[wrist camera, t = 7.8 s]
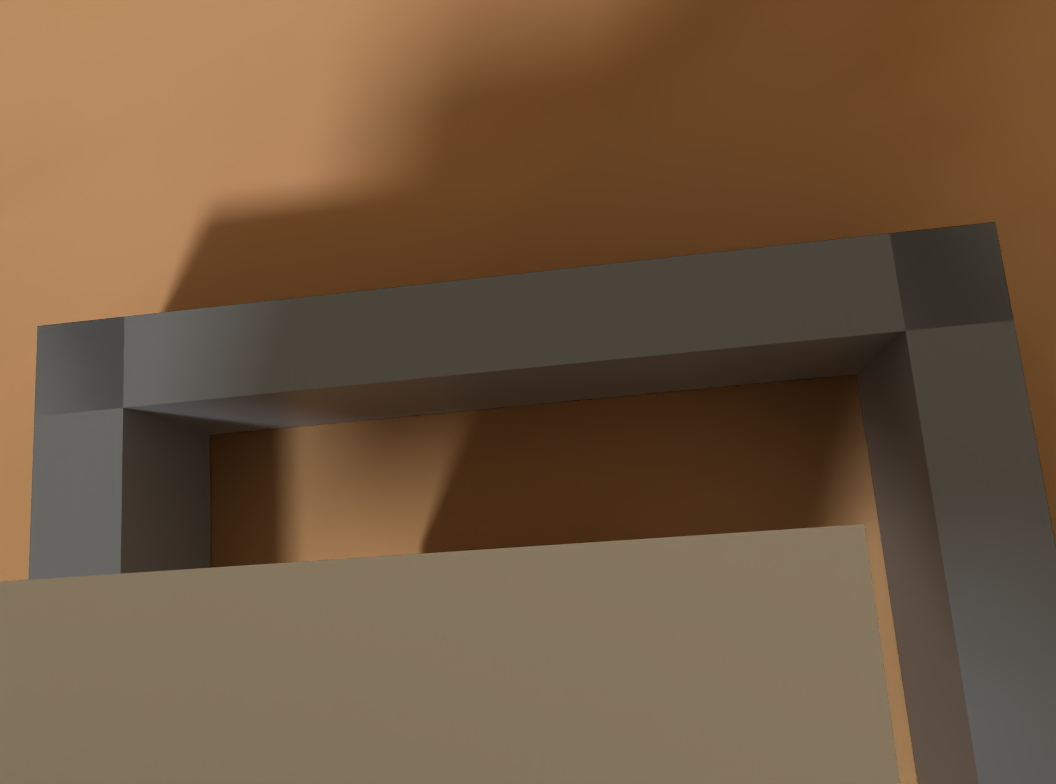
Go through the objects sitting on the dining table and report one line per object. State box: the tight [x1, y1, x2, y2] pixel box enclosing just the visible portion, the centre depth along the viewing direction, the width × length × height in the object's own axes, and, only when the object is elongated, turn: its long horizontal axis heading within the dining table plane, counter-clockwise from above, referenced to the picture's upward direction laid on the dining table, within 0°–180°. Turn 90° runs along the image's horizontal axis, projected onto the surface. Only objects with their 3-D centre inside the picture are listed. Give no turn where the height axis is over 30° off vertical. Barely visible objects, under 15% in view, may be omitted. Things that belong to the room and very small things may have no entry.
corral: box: [29, 222, 1056, 784], centre depth 14 cm, size 12×15×3 cm
